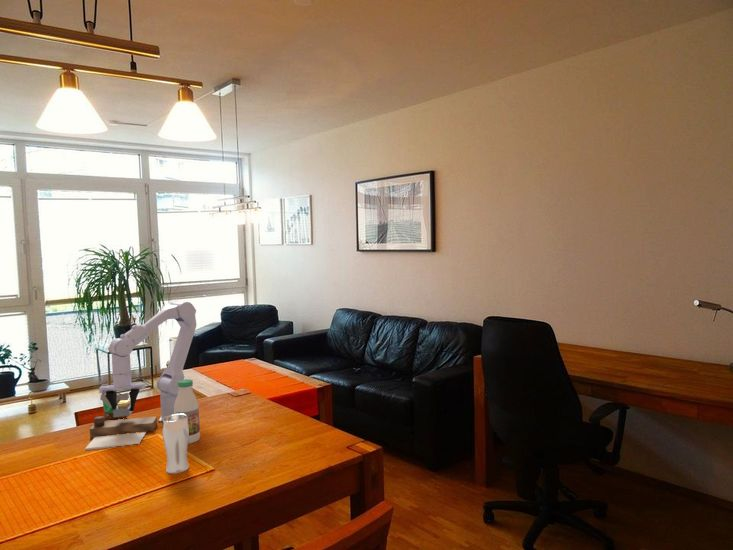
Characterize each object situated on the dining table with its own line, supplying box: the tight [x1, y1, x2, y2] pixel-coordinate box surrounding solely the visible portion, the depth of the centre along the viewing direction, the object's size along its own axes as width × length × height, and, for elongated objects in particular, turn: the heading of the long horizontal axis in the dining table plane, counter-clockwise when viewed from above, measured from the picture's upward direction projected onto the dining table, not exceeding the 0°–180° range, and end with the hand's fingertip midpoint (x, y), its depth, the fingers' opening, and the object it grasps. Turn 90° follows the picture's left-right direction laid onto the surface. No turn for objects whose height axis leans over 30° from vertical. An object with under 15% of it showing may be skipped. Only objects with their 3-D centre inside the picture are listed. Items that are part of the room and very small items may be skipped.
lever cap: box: [113, 399, 134, 417], centre depth 170 cm, size 5×7×4 cm
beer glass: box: [162, 414, 190, 475], centre depth 138 cm, size 7×7×15 cm
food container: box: [99, 391, 130, 421], centre depth 183 cm, size 12×6×10 cm, turn 62°
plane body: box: [89, 415, 158, 438], centre depth 170 cm, size 20×7×6 cm, turn 103°
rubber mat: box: [84, 432, 147, 451], centre depth 161 cm, size 16×10×1 cm, turn 103°
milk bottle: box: [174, 378, 201, 445], centre depth 160 cm, size 8×8×20 cm
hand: (123, 411), depth 170 cm, fingers closed on lever cap, 5 cm apart
